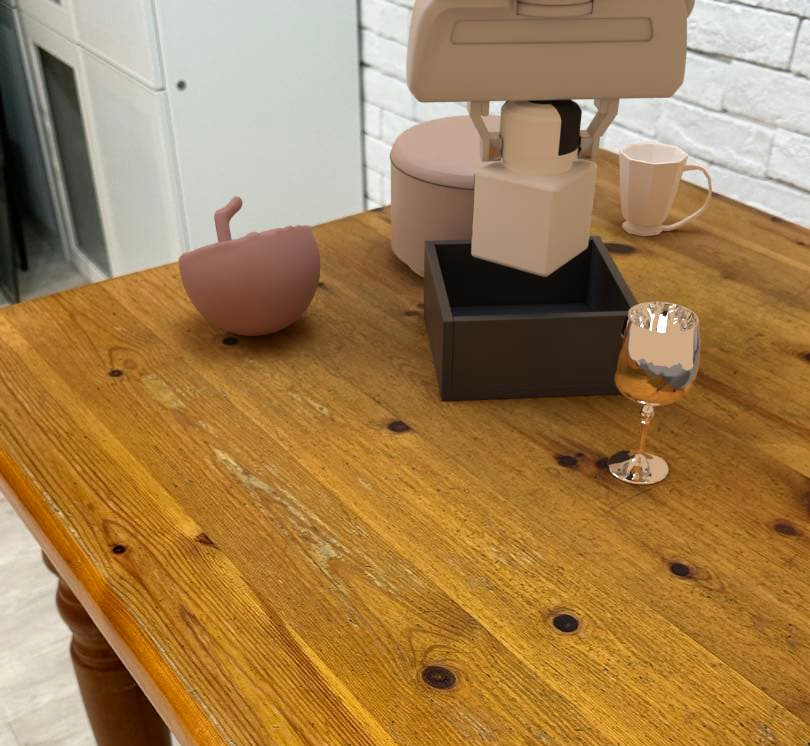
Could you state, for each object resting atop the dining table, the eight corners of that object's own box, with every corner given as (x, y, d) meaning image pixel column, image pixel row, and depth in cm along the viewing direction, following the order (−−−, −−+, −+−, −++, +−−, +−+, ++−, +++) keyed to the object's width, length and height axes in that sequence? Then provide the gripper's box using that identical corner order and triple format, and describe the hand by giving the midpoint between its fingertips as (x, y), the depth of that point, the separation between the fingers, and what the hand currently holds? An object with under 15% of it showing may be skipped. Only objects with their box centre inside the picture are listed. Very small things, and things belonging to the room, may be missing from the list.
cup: (609, 214, 115) (619, 139, 110) (702, 219, 114) (716, 144, 109) (609, 239, 110) (619, 161, 105) (706, 245, 109) (721, 167, 104)
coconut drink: (285, 288, 100) (276, 168, 93) (347, 338, 92) (343, 211, 85) (167, 318, 95) (149, 194, 88) (223, 374, 87) (207, 242, 80)
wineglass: (625, 497, 74) (651, 344, 66) (583, 455, 78) (602, 306, 70) (693, 478, 75) (725, 327, 68) (648, 439, 80) (674, 292, 72)
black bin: (590, 308, 97) (599, 235, 93) (632, 393, 85) (644, 314, 81) (423, 313, 96) (424, 240, 92) (441, 401, 84) (443, 321, 80)
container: (362, 240, 109) (359, 124, 102) (512, 213, 115) (520, 102, 108) (439, 310, 97) (442, 184, 89) (603, 275, 103) (618, 155, 95)
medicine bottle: (514, 229, 89) (524, 80, 82) (589, 249, 86) (607, 96, 78) (469, 257, 84) (475, 102, 77) (546, 279, 81) (561, 119, 74)
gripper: (689, -56, 75) (659, 142, 83) (404, -53, 73) (403, 147, 82) (716, -39, 70) (682, 169, 78) (411, -36, 69) (410, 175, 77)
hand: (537, 158), depth 80 cm, fingers closed on medicine bottle, 6 cm apart
